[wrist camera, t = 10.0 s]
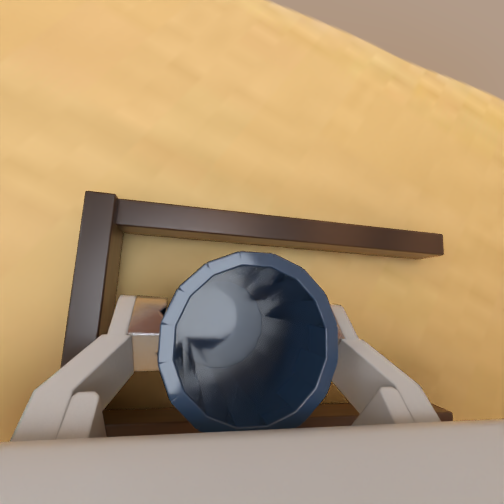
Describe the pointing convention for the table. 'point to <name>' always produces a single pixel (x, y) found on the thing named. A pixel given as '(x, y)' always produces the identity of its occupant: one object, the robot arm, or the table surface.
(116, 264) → the walnut slide track
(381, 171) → the table surface
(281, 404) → the pen cup
